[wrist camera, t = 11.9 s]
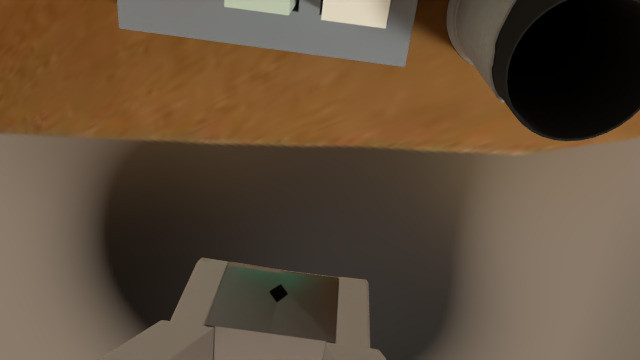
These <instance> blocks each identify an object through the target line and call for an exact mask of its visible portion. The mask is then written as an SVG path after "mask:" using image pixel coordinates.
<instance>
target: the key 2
mask: <svg viewBox="0 0 640 360" xmlns="http://www.w3.org/2000/svg"><path fill="white" fill-rule="evenodd" d="M390 2H391V0H323V7H322V16H321V20H326V21H333V22H340V23H348V24H355V25H363V26H370V27H377V28H385V29H386V24H387V19H388V13H389V7H390Z"/></svg>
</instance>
